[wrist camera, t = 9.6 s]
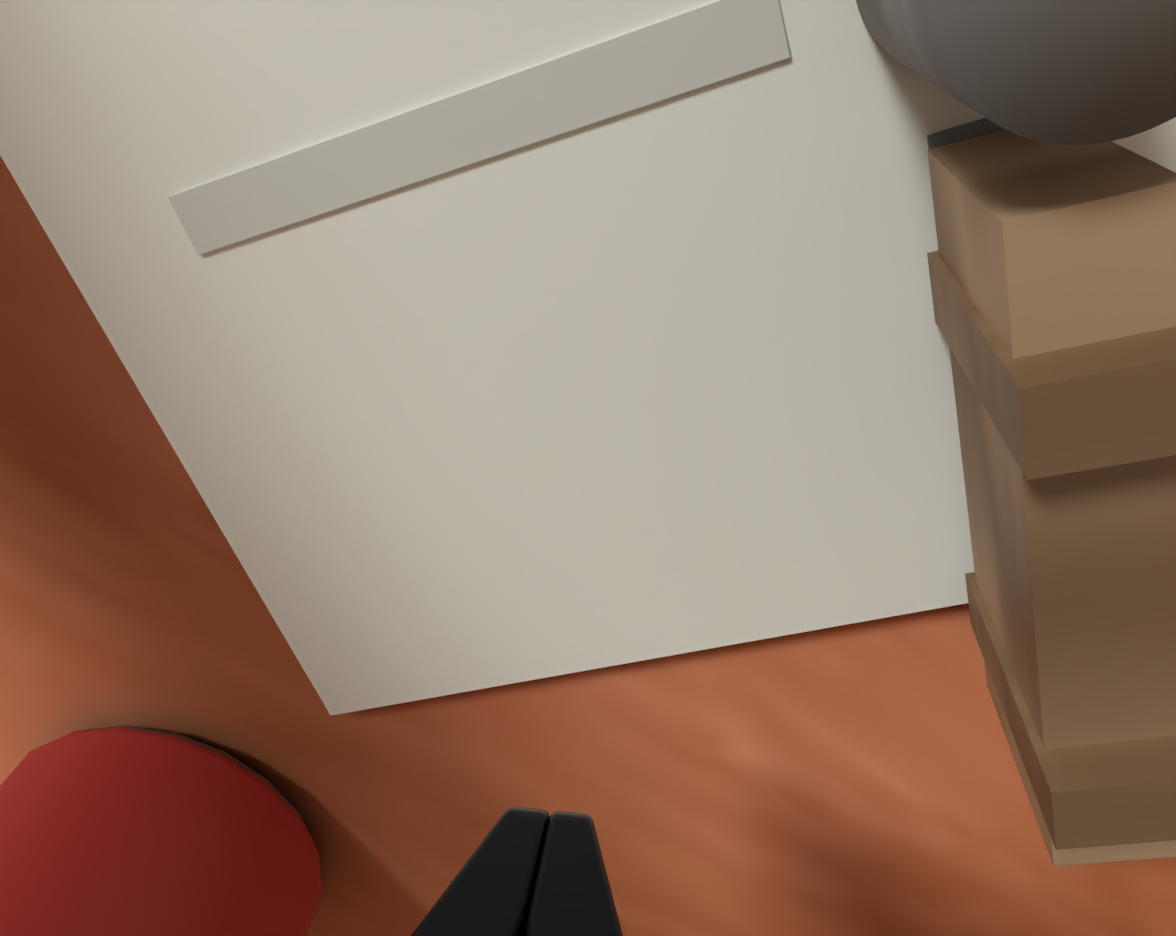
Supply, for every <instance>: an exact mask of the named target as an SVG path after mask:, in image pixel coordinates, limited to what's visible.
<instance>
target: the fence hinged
mask: <svg viewBox="0 0 1176 936" xmlns="http://www.w3.org/2000/svg"><path fill="white" fill-rule="evenodd" d="M927 154H928V162H929V171H930V180H931V189H932V198H933V207H934V216H935V225H936V233H937V242H938V251H933V252H929V253H927V258H928V266H929V274H930V283H931V291H932V300H933V308H934V317H935V323H936V324H937V326H938V328H939V329H940V331H941V333H942V335H943V336H944V338H945V340H946V341H947V343H948V345H949V349H950V358H951V367H952V376H953V385H954V393H955V402H956V411H957V420H958V429H959V438H960V447H961V456H962V464H963V473H964V482H965V491H966V500H967V509H968V518H969V527H970V536H971V544H972V553H973V562H974V571H975V572H972V573H965V579H966V587H967V596H968V604H969V612H970V621H971V625H972V627H973V630H974V633H975V636H976V638H977V641H978V644H979V646H980V649H981V652H982V654H983V657H984V660H985V669H986V678H987V685H988V688H989V691H990V694H991V696H992V699H993V702H994V704H995V707H996V710H997V713H998V715H999V718H1000V721H1001V724H1002V726H1003V729H1004V732H1005V735H1006V737H1007V740H1008V743H1009V746H1010V748H1011V751H1012V754H1013V756H1014V759H1015V762H1016V765H1017V767H1018V770H1019V773H1020V776H1021V778H1022V781H1023V784H1024V787H1025V789H1026V792H1027V795H1028V797H1029V800H1030V803H1031V806H1032V808H1033V811H1034V814H1035V817H1036V819H1037V822H1038V825H1039V828H1040V830H1041V833H1042V836H1043V838H1044V841H1045V844H1046V847H1047V849H1048V852H1049V855H1050V858H1051V860H1052V863H1053V866H1065V865H1078V864H1091V863H1103V862H1116V861H1129V860H1142V859H1155V858H1168V857H1176V173H1175V172H1173V171H1171V170H1169V169H1167V168H1165V167H1163V166H1161V165H1159V164H1157V163H1155V162H1153V161H1151V160H1149V159H1147V158H1145V157H1143V156H1141V155H1139V154H1137V153H1135V152H1133V151H1131V150H1128V149H1126V148H1124V147H1122V146H1120V145H1118V144H1116V143H1114V142H1112V141H1109V142H1105V143H1097V144H1087V145H1058V144H1052V143H1045V142H1039V141H1035V140H1032V139H1029V138H1025V137H1022V136H1019V135H1016V134H1014V133H1012V132H1010V131H1008V130H1003V131H999V132H995V133H991V134H987V135H983V136H979V137H975V138H972V139H968V140H964V141H960V142H956V143H952V144H948V145H944V146H940V147H936V148H932V149H928V150H927Z"/></svg>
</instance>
